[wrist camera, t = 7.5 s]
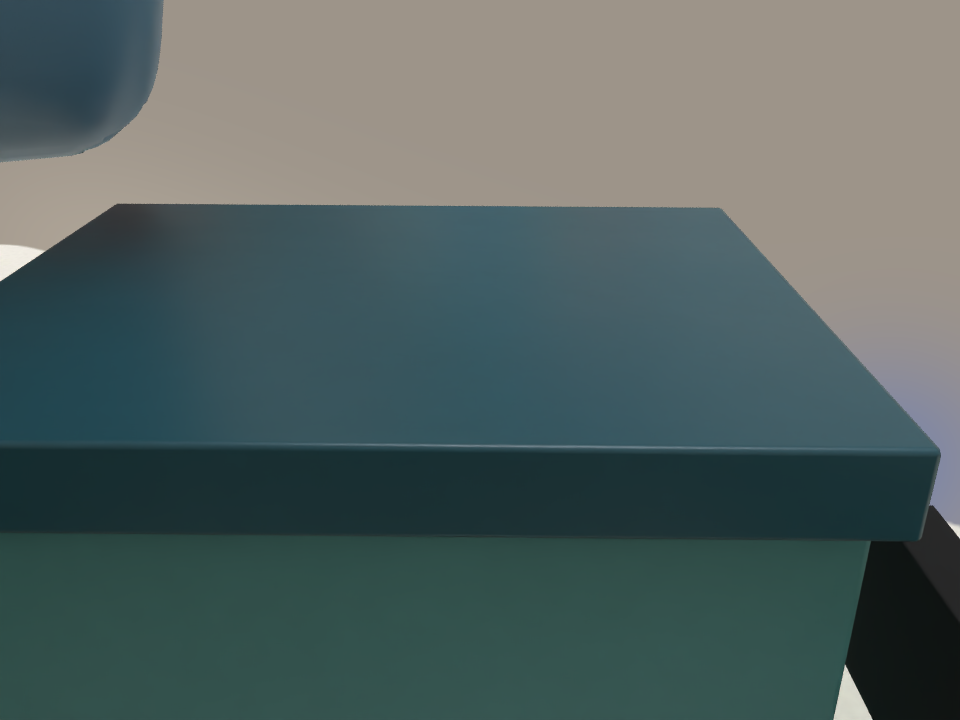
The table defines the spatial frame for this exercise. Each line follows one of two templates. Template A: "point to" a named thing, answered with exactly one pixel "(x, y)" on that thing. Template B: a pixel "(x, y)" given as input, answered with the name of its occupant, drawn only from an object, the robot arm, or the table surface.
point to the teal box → (433, 469)
